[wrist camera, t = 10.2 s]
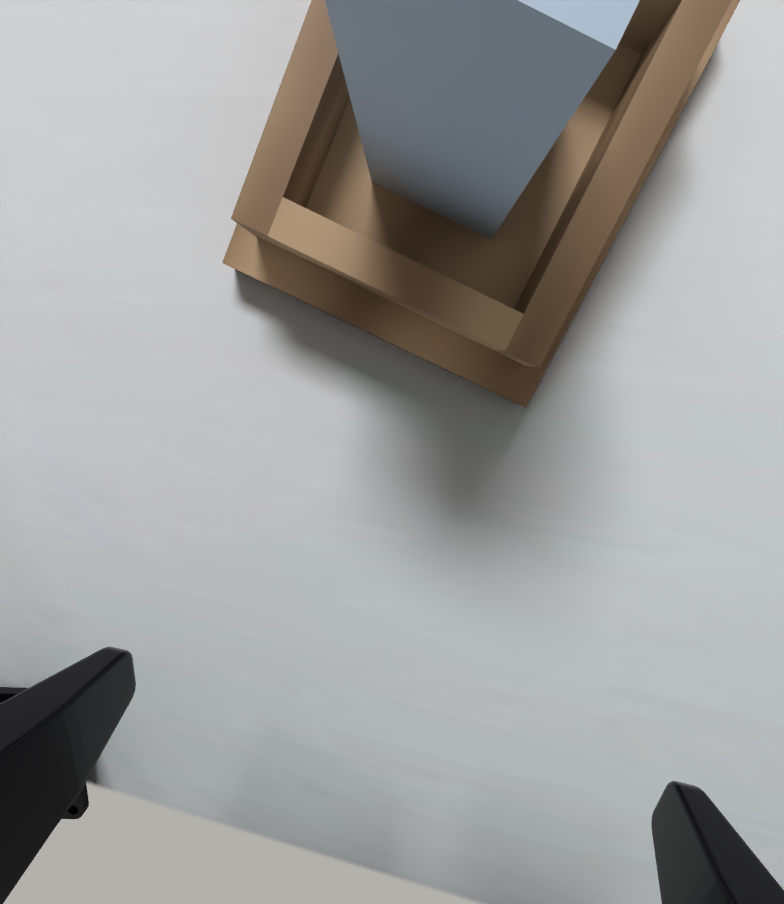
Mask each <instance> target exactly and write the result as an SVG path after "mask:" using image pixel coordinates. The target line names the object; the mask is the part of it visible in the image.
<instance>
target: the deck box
mask: <svg viewBox="0 0 784 904" xmlns="http://www.w3.org/2000/svg"><path fill="white" fill-rule="evenodd" d="M639 1H640V0H325V3H326V7H327V11H328V15H329V19H330V22H331V26H332V30H333V34H334V38H335V42H336V46H337V49H338V53H339V57H340V61H341V65H342V69H343V73H344V77H345V80H346V84H347V88H348V92H349V96H350V100H351V104H352V107H353V111H354V115H355V119H356V123H357V127H358V131H359V135H360V138H361V142H362V146H363V150H364V154H365V158H366V162H367V166H368V169H369V173H370V177H371V181H372V182H374V183H376V184H378V185H380V186H382V187H384V188H386V189H388V190H390V191H392V192H394V193H396V194H399V195H401V196H403V197H405V198H407V199H409V200H411V201H413V202H415V203H417V204H419V205H421V206H423V207H425V208H427V209H429V210H432V211H434V212H436V213H438V214H440V215H442V216H444V217H446V218H448V219H450V220H452V221H454V222H456V223H458V224H460V225H463V226H465V227H467V228H469V229H471V230H473V231H475V232H477V233H479V234H481V235H483V236H485V237H487V238H489V239H492V237H493V236H494V234H495V233H496V231H497V230H498V228H499V227H500V225H501V224H502V222H503V220H504V219H505V217H506V216H507V214H508V213H509V211H510V210H511V208H512V207H513V205H514V204H515V202H516V201H517V199H518V198H519V196H520V195H521V193H522V192H523V190H524V189H525V187H526V186H527V184H528V182H529V181H530V179H531V178H532V176H533V175H534V173H535V172H536V170H537V169H538V167H539V166H540V164H541V163H542V161H543V160H544V158H545V157H546V155H547V154H548V152H549V151H550V149H551V148H552V146H553V144H554V143H555V141H556V140H557V138H558V137H559V135H560V134H561V132H562V131H563V129H564V128H565V126H566V125H567V123H568V122H569V120H570V119H571V117H572V116H573V114H574V113H575V111H576V110H577V108H578V106H579V105H580V103H581V102H582V100H583V99H584V97H585V96H586V94H587V93H588V91H589V90H590V88H591V87H592V85H593V84H594V82H595V81H596V79H597V78H598V76H599V75H600V73H601V72H602V70H603V68H604V67H605V65H606V64H607V62H608V61H609V59H610V58H611V56H612V55H613V53H614V52H615V50H616V48H617V46H618V44H619V42H620V40H621V38H622V36H623V34H624V32H625V30H626V28H627V26H628V24H629V21H630V19H631V17H632V15H633V13H634V11H635V9H636V7H637V5H638V3H639Z"/></svg>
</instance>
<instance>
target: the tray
mask: <svg viewBox="0 0 784 904" xmlns="http://www.w3.org/2000/svg"><path fill="white" fill-rule="evenodd" d="M739 1H740V0H640V1H639V3H638V5H637V7H636V9H635V11H634V13H633V15H632V17H631V19H630V21H629V24H628V26H627V28H626V30H625V32H624V34H623V36H622V38H621V40H620V42H619V44H618V46H617V48H616V50H615V52H614V53H613V55H612V56H611V58H610V59H609V61H608V62H607V64H606V65H605V67H604V68H603V70H602V72H601V73H600V75H599V76H598V78H597V79H596V81H595V82H594V84H593V85H592V87H591V88H590V90H589V91H588V93H587V94H586V96H585V97H584V99H583V100H582V102H581V103H580V105H579V106H578V108H577V110H576V111H575V113H574V114H573V116H572V117H571V119H570V120H569V122H568V123H567V125H566V126H565V128H564V129H563V131H562V132H561V134H560V135H559V137H558V138H557V140H556V141H555V143H554V144H553V146H552V148H551V149H550V151H549V152H548V154H547V155H546V157H545V158H544V160H543V161H542V163H541V164H540V166H539V167H538V169H537V170H536V172H535V173H534V175H533V176H532V178H531V179H530V181H529V182H528V184H527V186H526V187H525V189H524V190H523V192H522V193H521V195H520V196H519V198H518V199H517V201H516V202H515V204H514V205H513V207H512V208H511V210H510V211H509V213H508V214H507V216H506V217H505V219H504V220H503V222H502V224H501V225H500V227H499V228H498V230H497V231H496V233H495V234H494V236H493V237H492V239H489V238H487V237H485V236H483V235H481V234H479V233H477V232H475V231H473V230H471V229H469V228H467V227H465V226H463V225H460V224H458V223H456V222H454V221H452V220H450V219H448V218H446V217H444V216H442V215H440V214H438V213H436V212H434V211H432V210H429V209H427V208H425V207H423V206H421V205H419V204H417V203H415V202H413V201H411V200H409V199H407V198H405V197H403V196H401V195H399V194H396V193H394V192H392V191H390V190H388V189H386V188H384V187H382V186H380V185H378V184H376V183H374V182H372V181H371V177H370V173H369V169H368V166H367V162H366V158H365V154H364V150H363V146H362V142H361V138H360V135H359V131H358V127H357V123H356V119H355V115H354V111H353V107H352V104H351V100H350V96H349V92H348V88H347V84H346V80H345V77H344V73H343V69H342V65H341V61H340V57H339V53H338V49H337V46H336V42H335V38H334V34H333V30H332V26H331V22H330V19H329V15H328V11H327V7H326V3H325V0H312V1H311V4H310V6H309V9H308V12H307V15H306V17H305V20H304V23H303V25H302V28H301V31H300V34H299V36H298V39H297V42H296V44H295V47H294V50H293V52H292V55H291V58H290V61H289V63H288V66H287V69H286V71H285V74H284V77H283V79H282V82H281V85H280V88H279V90H278V93H277V96H276V98H275V101H274V104H273V106H272V109H271V112H270V115H269V117H268V120H267V123H266V125H265V128H264V131H263V134H262V136H261V139H260V142H259V144H258V147H257V150H256V152H255V155H254V158H253V161H252V163H251V166H250V169H249V171H248V174H247V177H246V179H245V182H244V185H243V188H242V190H241V193H240V196H239V198H238V201H237V204H236V206H235V209H234V212H233V215H232V217H231V219H232V220H234V221H235V222H236V223H237V225H236V228H235V231H234V233H233V236H232V239H231V241H230V244H229V247H228V249H227V252H226V255H225V257H224V260H223V263H224V264H226V265H228V266H230V267H232V268H234V269H236V270H238V271H240V272H242V273H245V274H247V275H249V276H251V277H253V278H255V279H257V280H259V281H261V282H263V283H266V284H268V285H270V286H272V287H274V288H276V289H278V290H280V291H282V292H284V293H287V294H289V295H291V296H293V297H295V298H297V299H299V300H301V301H303V302H305V303H308V304H310V305H312V306H314V307H316V308H318V309H320V310H322V311H324V312H326V313H328V314H331V315H333V316H335V317H337V318H339V319H341V320H343V321H345V322H347V323H349V324H352V325H354V326H356V327H358V328H360V329H362V330H364V331H366V332H368V333H370V334H373V335H375V336H377V337H379V338H381V339H383V340H385V341H387V342H389V343H391V344H393V345H396V346H398V347H400V348H402V349H404V350H406V351H408V352H410V353H412V354H414V355H417V356H419V357H421V358H423V359H425V360H427V361H429V362H431V363H433V364H435V365H438V366H440V367H442V368H444V369H446V370H448V371H450V372H452V373H454V374H456V375H459V376H461V377H463V378H465V379H467V380H469V381H471V382H473V383H475V384H477V385H479V386H482V387H484V388H486V389H488V390H490V391H492V392H494V393H496V394H498V395H500V396H503V397H505V398H507V399H509V400H511V401H513V402H515V403H517V404H519V405H521V406H524V407H527V405H528V403H529V402H530V400H531V398H532V396H533V394H534V392H535V390H536V388H537V386H538V384H539V382H540V381H541V379H542V377H543V375H544V373H545V371H546V369H547V367H548V365H549V363H550V362H551V360H552V358H553V356H554V354H555V352H556V350H557V348H558V346H559V344H560V342H561V341H562V339H563V337H564V335H565V333H566V331H567V329H568V327H569V325H570V323H571V322H572V320H573V318H574V316H575V314H576V312H577V310H578V308H579V306H580V304H581V302H582V301H583V299H584V297H585V295H586V293H587V291H588V289H589V287H590V285H591V283H592V282H593V280H594V278H595V276H596V274H597V272H598V270H599V268H600V266H601V264H602V262H603V261H604V259H605V257H606V255H607V253H608V251H609V249H610V247H611V245H612V243H613V241H614V240H615V238H616V236H617V234H618V232H619V230H620V228H621V226H622V224H623V222H624V221H625V219H626V217H627V215H628V213H629V211H630V209H631V207H632V205H633V203H634V201H635V200H636V198H637V196H638V194H639V192H640V190H641V188H642V186H643V184H644V182H645V181H646V179H647V177H648V175H649V173H650V171H651V169H652V167H653V165H654V163H655V161H656V160H657V158H658V156H659V154H660V152H661V150H662V148H663V146H664V144H665V142H666V141H667V139H668V137H669V135H670V133H671V131H672V129H673V127H674V125H675V123H676V121H677V120H678V118H679V116H680V114H681V112H682V110H683V108H684V106H685V104H686V102H687V101H688V99H689V97H690V95H691V93H692V91H693V89H694V87H695V85H696V83H697V81H698V80H699V78H700V76H701V74H702V72H703V70H704V68H705V66H706V64H707V62H708V61H709V59H710V57H711V55H712V53H713V51H714V49H715V47H716V45H717V43H718V41H719V40H720V38H721V36H722V34H723V32H724V30H725V28H726V26H727V24H728V22H729V21H730V19H731V17H732V15H733V13H734V11H735V9H736V7H737V5H738V3H739Z"/></svg>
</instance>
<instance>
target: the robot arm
mask: <svg viewBox="0 0 784 904" xmlns="http://www.w3.org/2000/svg"><path fill="white" fill-rule="evenodd" d="M135 687H136V682H135V674H134V666H133V658H132V655H131V653H130V652H129V651H127V650H123V649H118V648H114V647H106V648H103V649H101V650H99V651H97V652H95V653H93V654H92V655H90V656H88V657H86V658H84V659H82V660H80V661H79V662H77V663H75V664H73V665H71V666H69V667H67V668H65V669H64V670H62V671H60V672H58V673H56V674H54V675H52V676H51V677H49V678H47V679H45V680H43V681H41V682H39V683H38V684H36V685H34V686H32V687H30V688H8V687H0V904H3V903H4V901H5V900H6V898H7V897H8V895H9V894H10V892H11V891H12V890H13V888H14V887H15V885H16V884H17V882H18V881H19V879H20V878H21V876H22V875H23V873H24V872H25V870H26V869H27V868H28V866H29V865H30V863H31V862H32V860H33V859H34V857H35V856H36V854H37V853H38V852H39V850H40V849H41V847H42V846H43V844H44V843H45V841H46V840H47V838H48V837H49V835H50V834H51V832H52V831H53V830H54V828H55V827H56V825H57V824H58V823H59V821H60V820H61V819H78V818H80V817H81V816H82V815H83V813H84V812H85V811H86V809H87V807H88V804H89V801H88V795H87V787H86V779H87V778H88V776H89V774H90V773H91V771H92V769H93V767H94V765H95V764H96V762H97V760H98V758H99V757H100V755H101V753H102V751H103V749H104V748H105V746H106V744H107V742H108V741H109V739H110V737H111V735H112V733H113V732H114V730H115V728H116V726H117V725H118V723H119V721H120V719H121V717H122V716H123V714H124V712H125V710H126V709H127V707H128V705H129V703H130V701H131V699H132V697H133V695H134V692H135ZM652 835H653V842H654V849H655V857H656V864H657V871H658V878H659V885H660V893H661V900H662V904H784V890H783V889H782V888H781V886H780V885H779V884H778V883H777V881H776V880H775V879H774V878H773V876H772V875H771V874H770V873H769V871H768V870H767V869H766V868H765V867H764V865H763V864H762V863H761V862H760V860H759V859H758V858H757V857H756V855H755V854H754V853H753V852H752V850H751V849H750V848H749V847H748V845H747V844H746V843H745V842H744V841H743V839H742V838H741V837H740V836H739V834H738V833H737V832H736V831H735V829H734V828H733V827H732V826H731V824H730V823H729V822H728V821H727V819H726V818H725V817H724V816H723V814H722V813H721V812H720V811H719V810H718V808H717V807H716V806H715V805H714V803H713V802H712V801H711V800H710V798H709V797H708V796H707V795H706V794H705V792H704V791H702V790H701V789H700V788H698V787H696V786H694V785H689V784H685V783H681V782H677V781H672V782H670V783H668V785H667V786H666V788H665V790H664V792H663V794H662V796H661V798H660V800H659V802H658V804H657V806H656V808H655V809H654V812H653V815H652Z"/></svg>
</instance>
